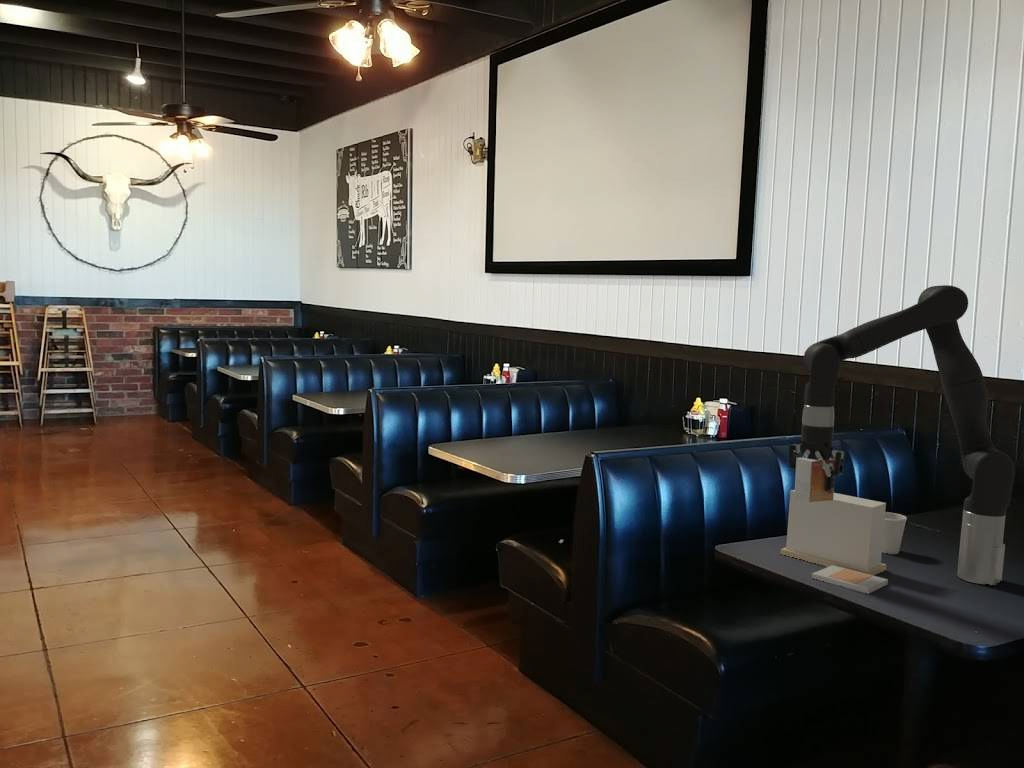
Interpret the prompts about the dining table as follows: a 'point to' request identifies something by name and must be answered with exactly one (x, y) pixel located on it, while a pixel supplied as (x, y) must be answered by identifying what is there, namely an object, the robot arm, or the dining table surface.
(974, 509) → the robot arm
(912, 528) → the dining table surface
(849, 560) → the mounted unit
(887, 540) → the dixie cup
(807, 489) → the small box
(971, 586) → the dining table surface
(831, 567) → the pad
